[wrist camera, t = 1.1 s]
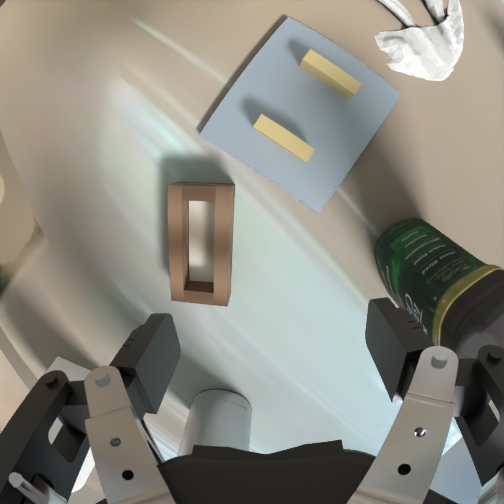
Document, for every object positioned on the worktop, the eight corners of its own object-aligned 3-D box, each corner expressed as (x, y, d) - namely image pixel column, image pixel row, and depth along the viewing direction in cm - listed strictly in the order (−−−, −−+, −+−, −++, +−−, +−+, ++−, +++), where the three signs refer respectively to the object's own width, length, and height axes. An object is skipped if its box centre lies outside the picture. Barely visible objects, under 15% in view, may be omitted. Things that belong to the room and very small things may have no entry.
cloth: (385, 94, 24) (393, 90, 22) (304, -47, 18) (306, -57, 15) (495, 80, 20) (506, 78, 18) (426, -43, 14) (432, -49, 12)
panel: (317, 212, 28) (323, 219, 25) (200, 136, 26) (192, 133, 23) (397, 95, 23) (411, 90, 20) (287, 19, 21) (289, 6, 18)
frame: (230, 293, 31) (227, 306, 29) (179, 288, 32) (171, 300, 29) (235, 184, 28) (231, 187, 25) (177, 182, 28) (167, 185, 25)
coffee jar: (363, 238, 29) (460, 339, 11) (421, 207, 27) (544, 270, 9) (387, 306, 31) (458, 420, 14) (439, 276, 29) (529, 365, 12)
